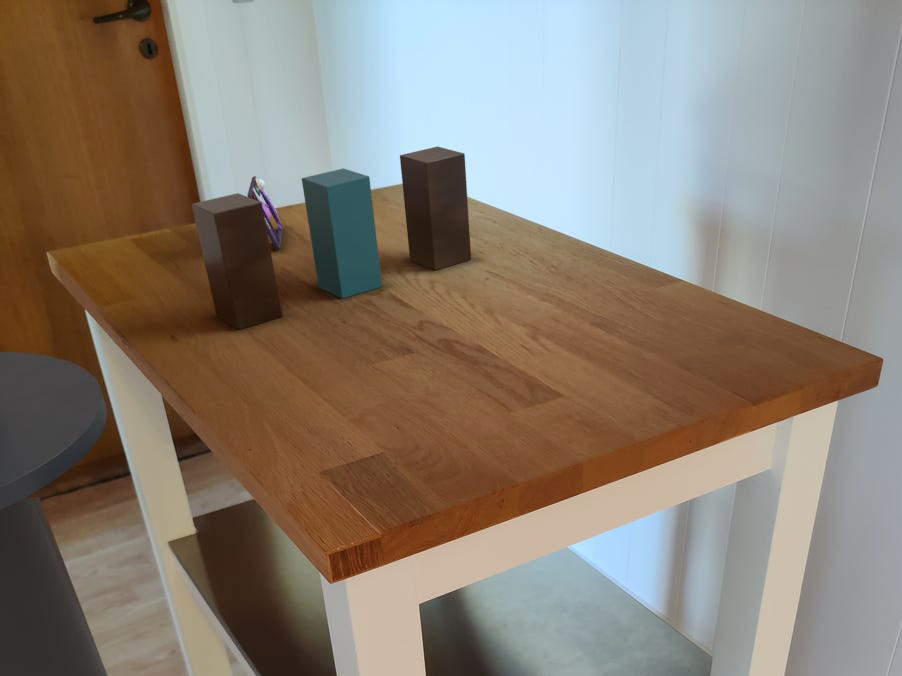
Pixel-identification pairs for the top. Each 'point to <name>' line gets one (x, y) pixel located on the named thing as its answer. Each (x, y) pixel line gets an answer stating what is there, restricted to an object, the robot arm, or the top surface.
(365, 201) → the teal block
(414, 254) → the walnut block back
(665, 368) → the top surface
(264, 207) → the purple open frame
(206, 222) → the walnut block front
